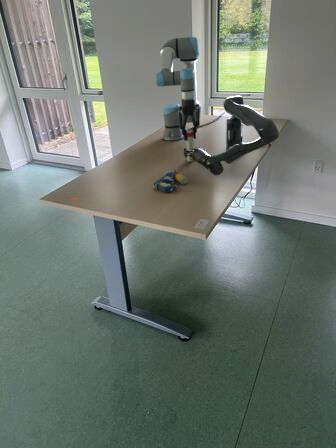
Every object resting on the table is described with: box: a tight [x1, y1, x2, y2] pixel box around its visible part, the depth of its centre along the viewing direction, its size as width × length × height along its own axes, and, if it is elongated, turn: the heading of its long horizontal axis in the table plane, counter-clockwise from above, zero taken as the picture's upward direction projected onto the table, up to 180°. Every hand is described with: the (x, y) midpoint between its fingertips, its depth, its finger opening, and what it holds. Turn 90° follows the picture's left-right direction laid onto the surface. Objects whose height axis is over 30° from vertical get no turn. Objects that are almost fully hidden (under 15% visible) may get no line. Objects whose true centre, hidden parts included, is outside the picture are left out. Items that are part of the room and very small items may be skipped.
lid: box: [186, 129, 194, 137], centre depth 198 cm, size 5×6×2 cm
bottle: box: [185, 136, 195, 163], centre depth 202 cm, size 5×5×18 cm
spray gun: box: [152, 170, 188, 193], centre depth 177 cm, size 21×4×15 cm
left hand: (189, 139), depth 200 cm, fingers closed on lid, 5 cm apart
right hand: (188, 148), depth 205 cm, fingers closed on bottle, 4 cm apart
